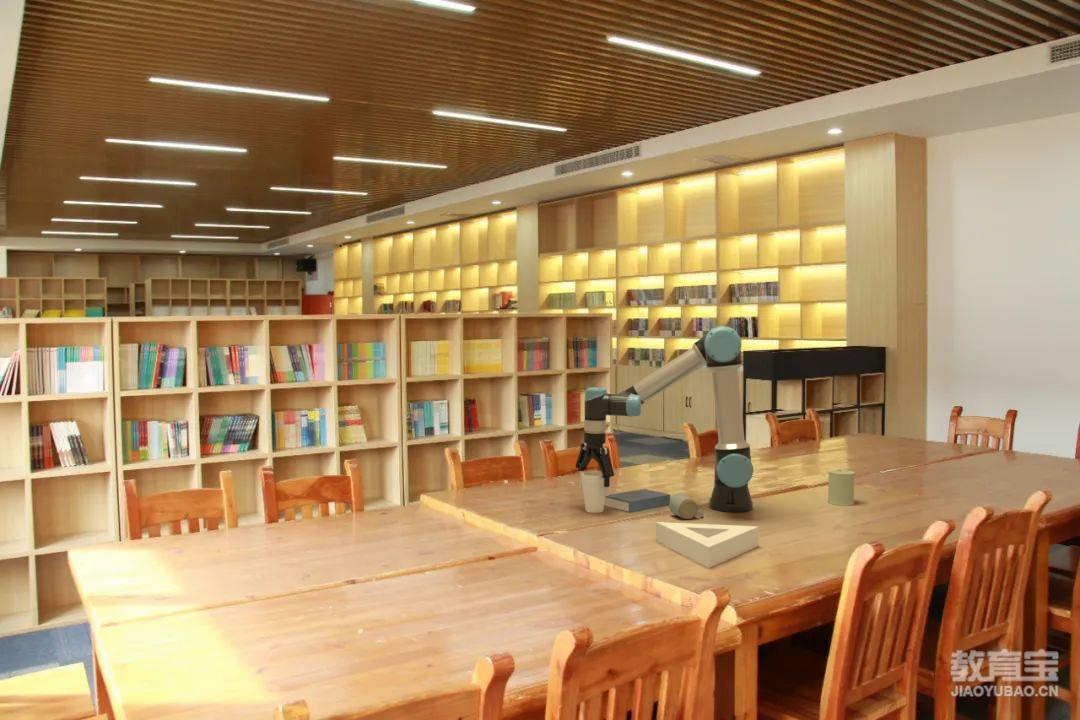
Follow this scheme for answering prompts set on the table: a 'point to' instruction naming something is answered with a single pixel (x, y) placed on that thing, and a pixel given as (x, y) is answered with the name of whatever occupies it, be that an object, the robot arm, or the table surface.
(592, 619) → the table surface
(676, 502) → the ceramic mug
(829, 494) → the can
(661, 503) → the book
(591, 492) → the foam cup
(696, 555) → the triangle block
